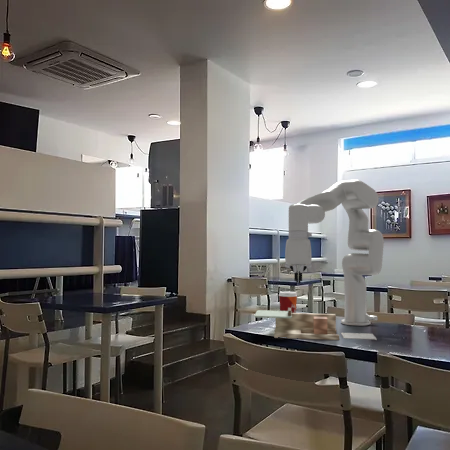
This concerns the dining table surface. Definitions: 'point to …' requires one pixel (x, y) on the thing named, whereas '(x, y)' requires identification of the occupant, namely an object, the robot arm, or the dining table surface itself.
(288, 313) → the sliding lid
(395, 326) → the dining table surface
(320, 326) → the terracotta block
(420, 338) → the dining table surface
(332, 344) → the dining table surface
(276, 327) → the wooden box
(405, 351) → the dining table surface
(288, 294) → the coffee cup
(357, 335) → the grey mat
